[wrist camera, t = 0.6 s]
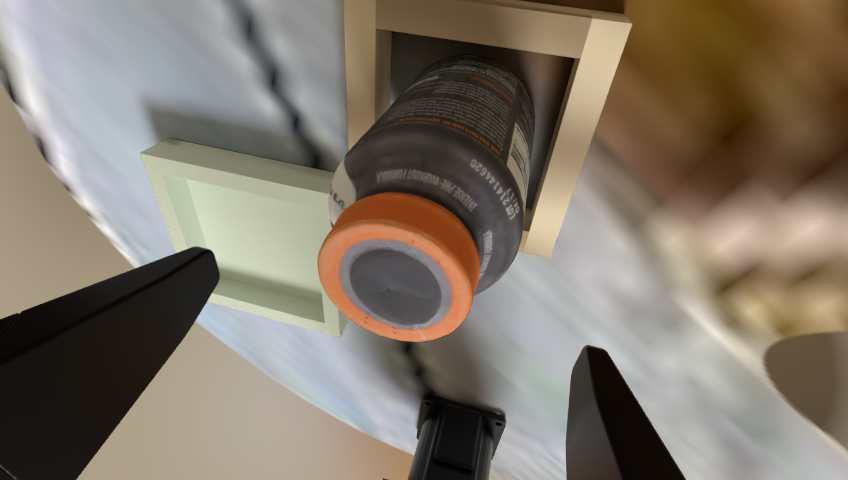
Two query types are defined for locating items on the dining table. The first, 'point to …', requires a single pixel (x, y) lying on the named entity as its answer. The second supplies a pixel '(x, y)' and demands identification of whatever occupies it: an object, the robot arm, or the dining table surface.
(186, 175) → the tray
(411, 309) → the pill bottle
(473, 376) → the dining table surface
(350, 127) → the socket collar
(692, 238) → the dining table surface
